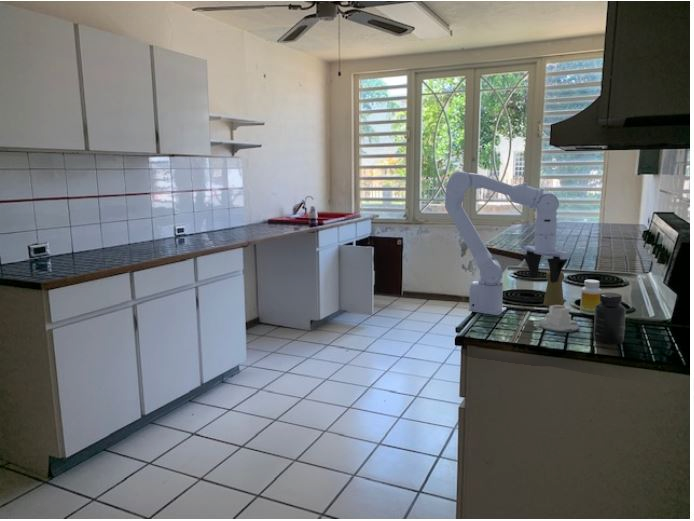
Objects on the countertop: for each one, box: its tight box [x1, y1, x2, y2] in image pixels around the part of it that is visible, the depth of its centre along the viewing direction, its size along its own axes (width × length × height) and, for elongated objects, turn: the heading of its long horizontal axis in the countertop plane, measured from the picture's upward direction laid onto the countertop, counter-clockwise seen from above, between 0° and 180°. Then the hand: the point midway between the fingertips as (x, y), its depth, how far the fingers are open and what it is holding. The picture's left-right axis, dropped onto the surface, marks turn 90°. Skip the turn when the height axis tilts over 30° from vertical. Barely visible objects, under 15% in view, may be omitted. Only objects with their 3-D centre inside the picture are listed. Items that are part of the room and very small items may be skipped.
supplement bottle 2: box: [593, 291, 627, 345], centre depth 125 cm, size 7×7×12 cm
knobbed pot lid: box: [538, 317, 579, 333], centre depth 137 cm, size 10×10×3 cm
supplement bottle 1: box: [579, 279, 602, 316], centre depth 148 cm, size 5×5×10 cm
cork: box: [543, 270, 565, 308], centre depth 157 cm, size 6×6×11 cm
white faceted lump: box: [545, 304, 572, 326], centre depth 137 cm, size 5×4×5 cm
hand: (543, 279), depth 148 cm, fingers open, 7 cm apart
